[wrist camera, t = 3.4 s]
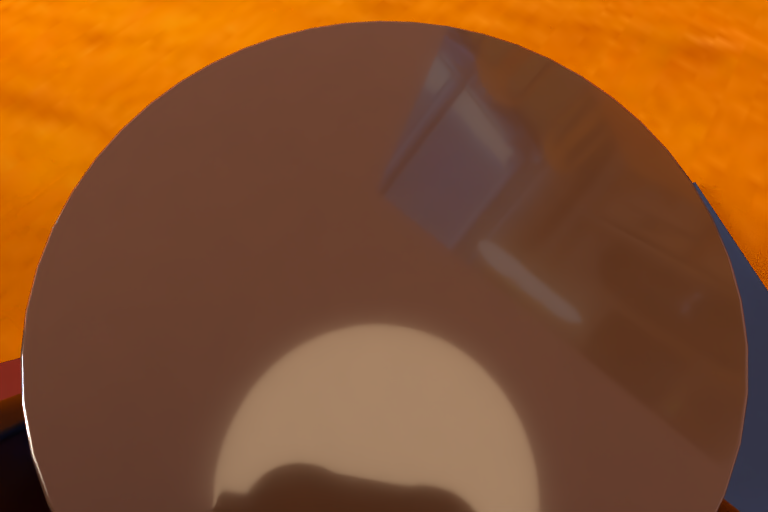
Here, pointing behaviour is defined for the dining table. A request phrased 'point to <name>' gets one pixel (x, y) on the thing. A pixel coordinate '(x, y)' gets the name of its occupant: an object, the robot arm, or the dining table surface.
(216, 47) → the dining table surface
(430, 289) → the blue canister
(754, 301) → the sorting mat
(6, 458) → the robot arm
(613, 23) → the dining table surface
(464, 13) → the dining table surface
